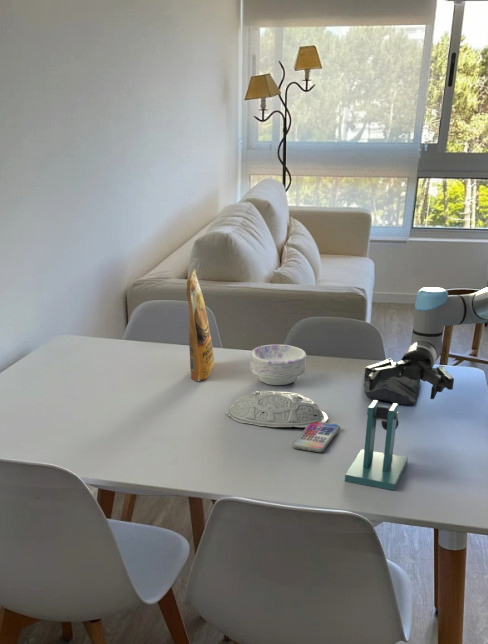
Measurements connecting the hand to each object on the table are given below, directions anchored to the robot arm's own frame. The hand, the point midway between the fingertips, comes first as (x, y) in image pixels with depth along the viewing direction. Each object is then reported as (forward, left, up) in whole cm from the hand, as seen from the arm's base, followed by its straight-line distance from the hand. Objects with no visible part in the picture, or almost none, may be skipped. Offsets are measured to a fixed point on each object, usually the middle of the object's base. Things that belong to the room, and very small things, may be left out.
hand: (401, 389), depth 156 cm
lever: (-5, +14, -3) cm, 16 cm away
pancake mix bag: (+64, -1, -12) cm, 65 cm away
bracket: (-6, +18, -12) cm, 22 cm away
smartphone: (+13, +13, -12) cm, 22 cm away
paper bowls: (+44, -11, -12) cm, 47 cm away
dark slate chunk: (+17, -25, -12) cm, 32 cm away
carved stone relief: (+28, +9, -12) cm, 31 cm away
